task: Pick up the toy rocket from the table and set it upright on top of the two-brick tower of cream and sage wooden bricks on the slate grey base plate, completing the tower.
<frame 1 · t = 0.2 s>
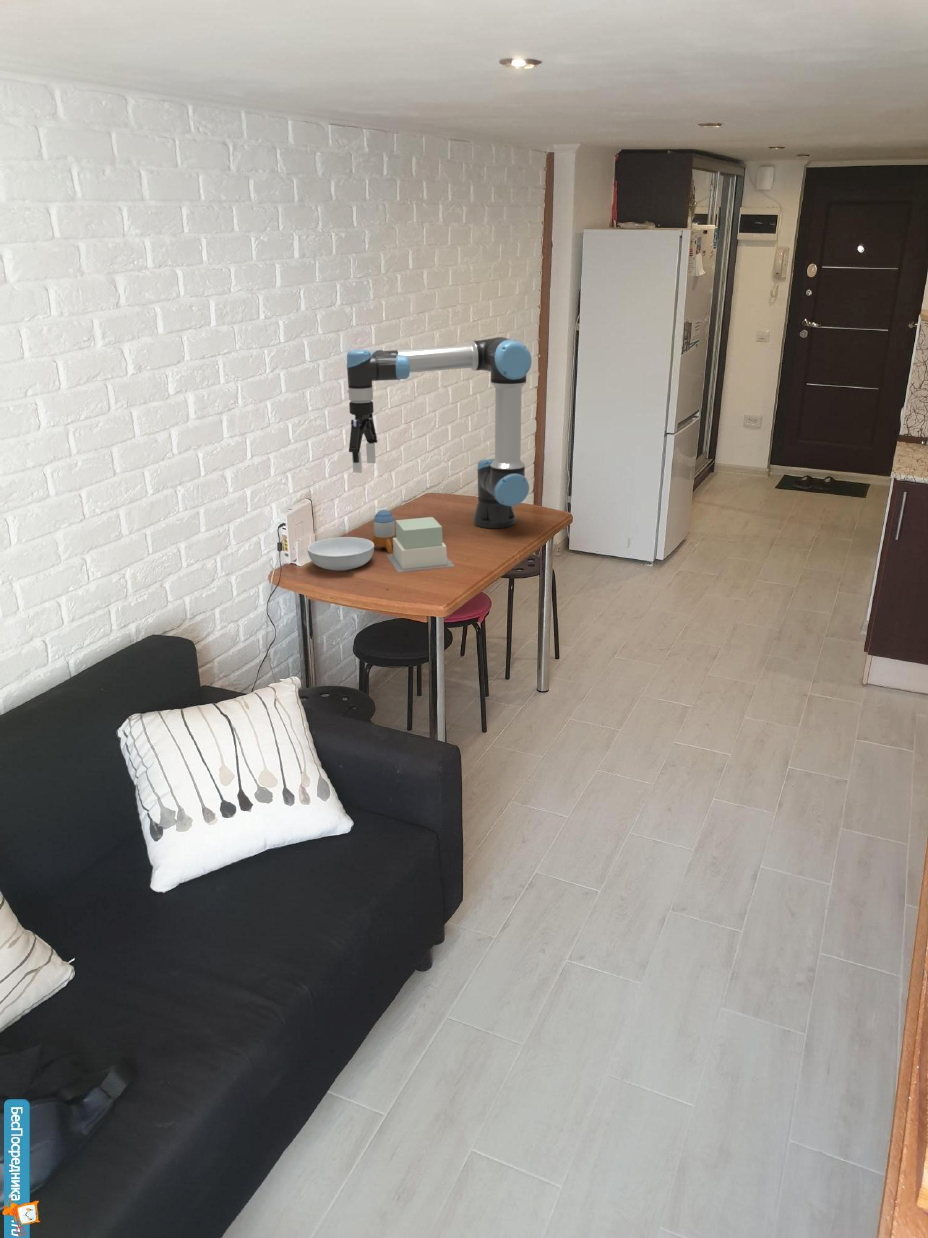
hand: (364, 467, 306), 27 cm above the table, tool pointing down, fingers open, 13 cm apart
serving bowl: (342, 567, 299), on the table
base plate: (420, 563, 300), on the table
toy rocket: (382, 552, 312), on the table
lower brick: (419, 560, 300), point 1 cm above the table, touching base plate, upper brick
upper brick: (419, 542, 298), point 7 cm above the table, touching lower brick
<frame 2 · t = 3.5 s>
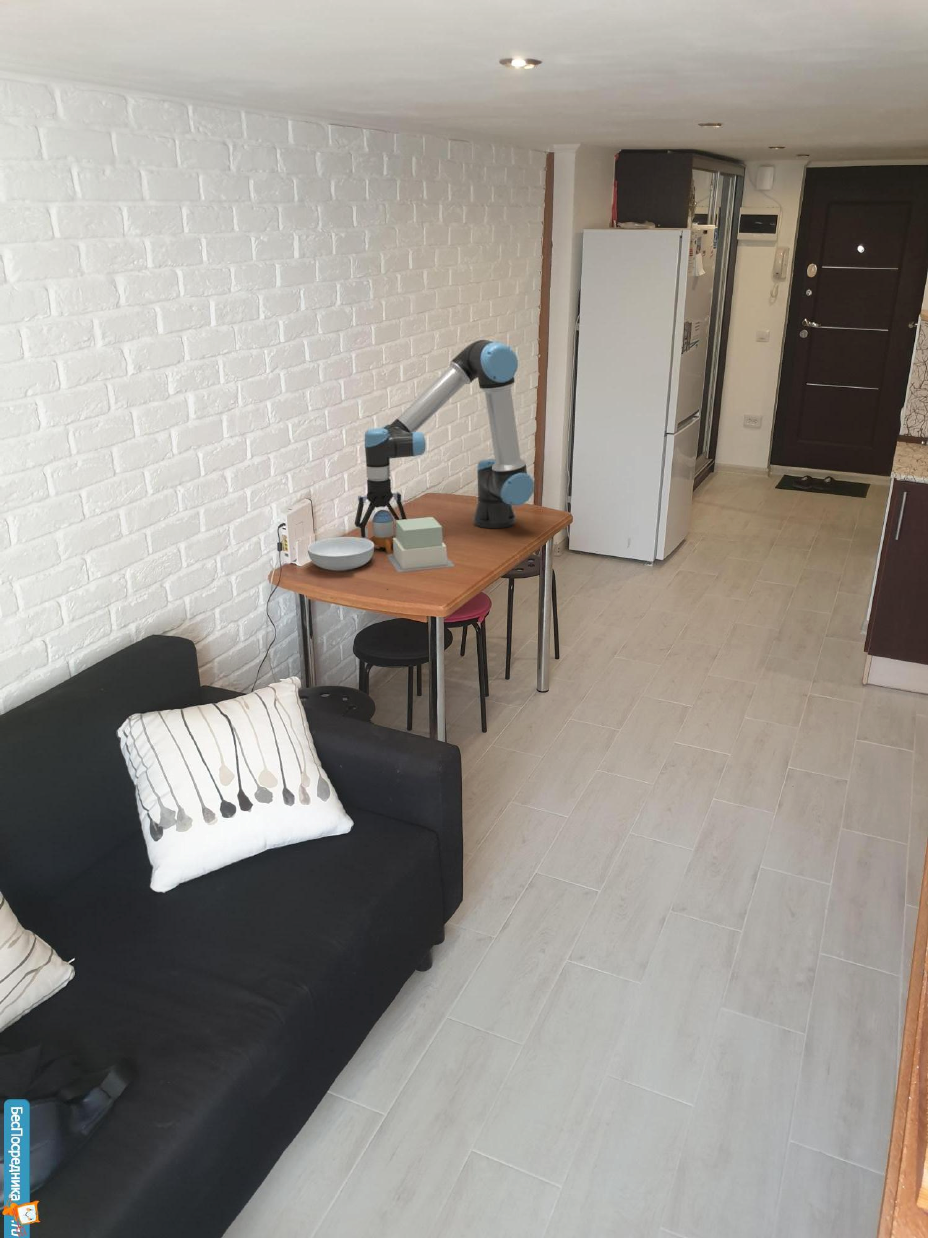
hand: (382, 545, 312), 2 cm above the table, tool pointing down, fingers closed on toy rocket, 10 cm apart
toy rocket: (381, 552, 312), on the table, touching gripper
everything else where it was.
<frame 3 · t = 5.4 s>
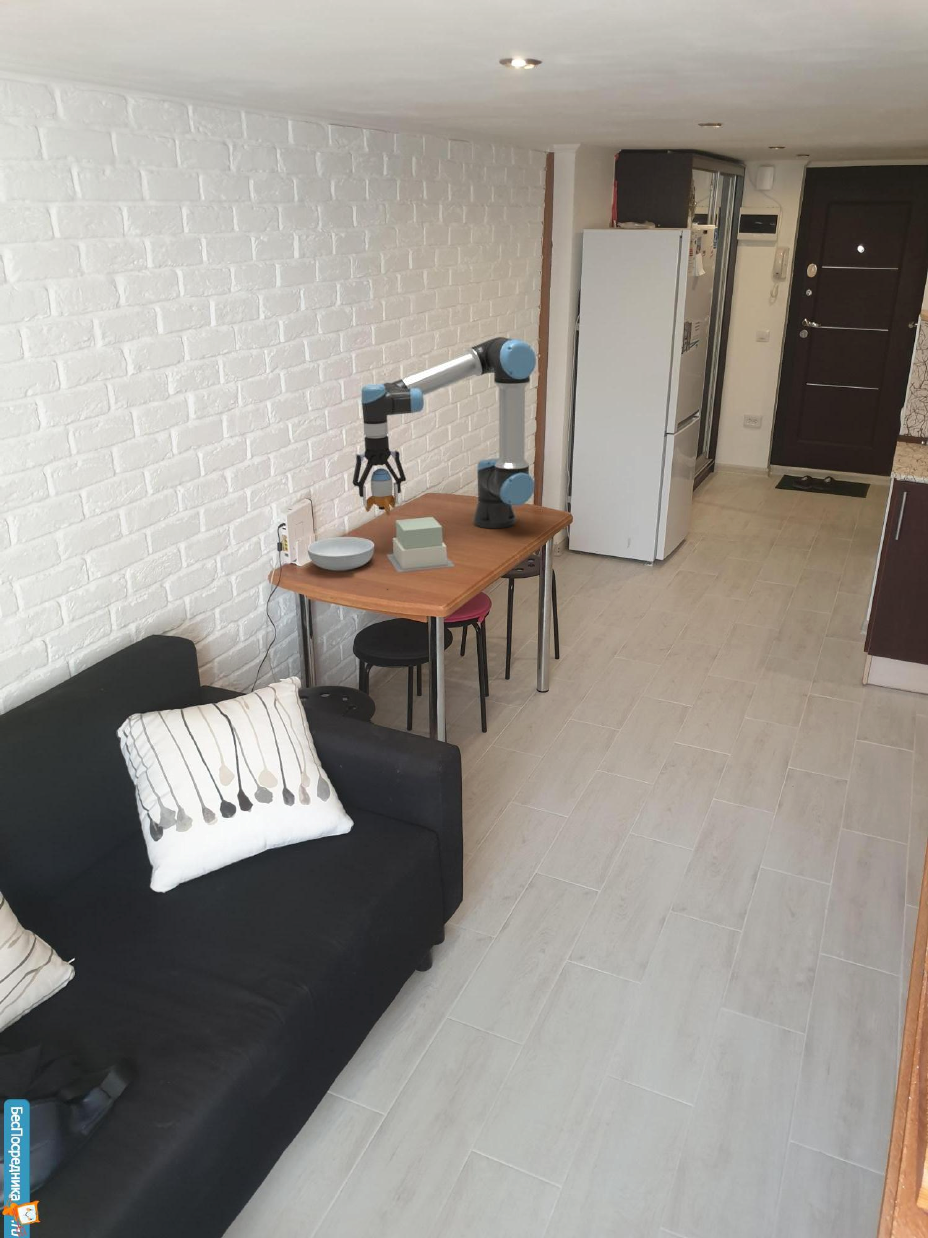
hand: (380, 504, 307), 16 cm above the table, tool pointing down, fingers closed on toy rocket, 10 cm apart
toy rocket: (379, 512, 307), point 13 cm above the table, touching gripper
everything else where it was.
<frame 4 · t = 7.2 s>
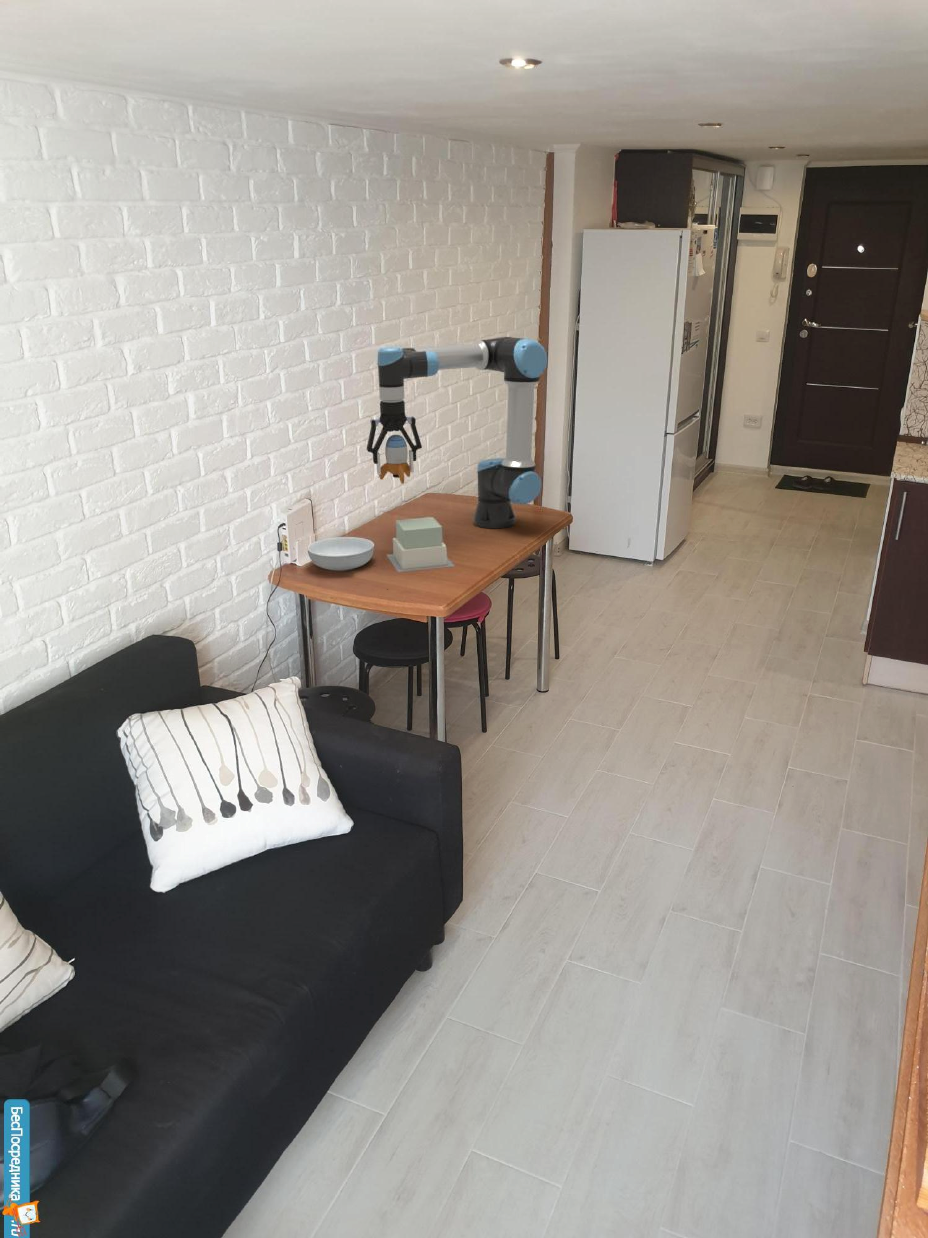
hand: (395, 472, 296), 28 cm above the table, tool pointing down, fingers closed on toy rocket, 10 cm apart
toy rocket: (394, 480, 297), point 25 cm above the table, touching gripper
everything else where it was.
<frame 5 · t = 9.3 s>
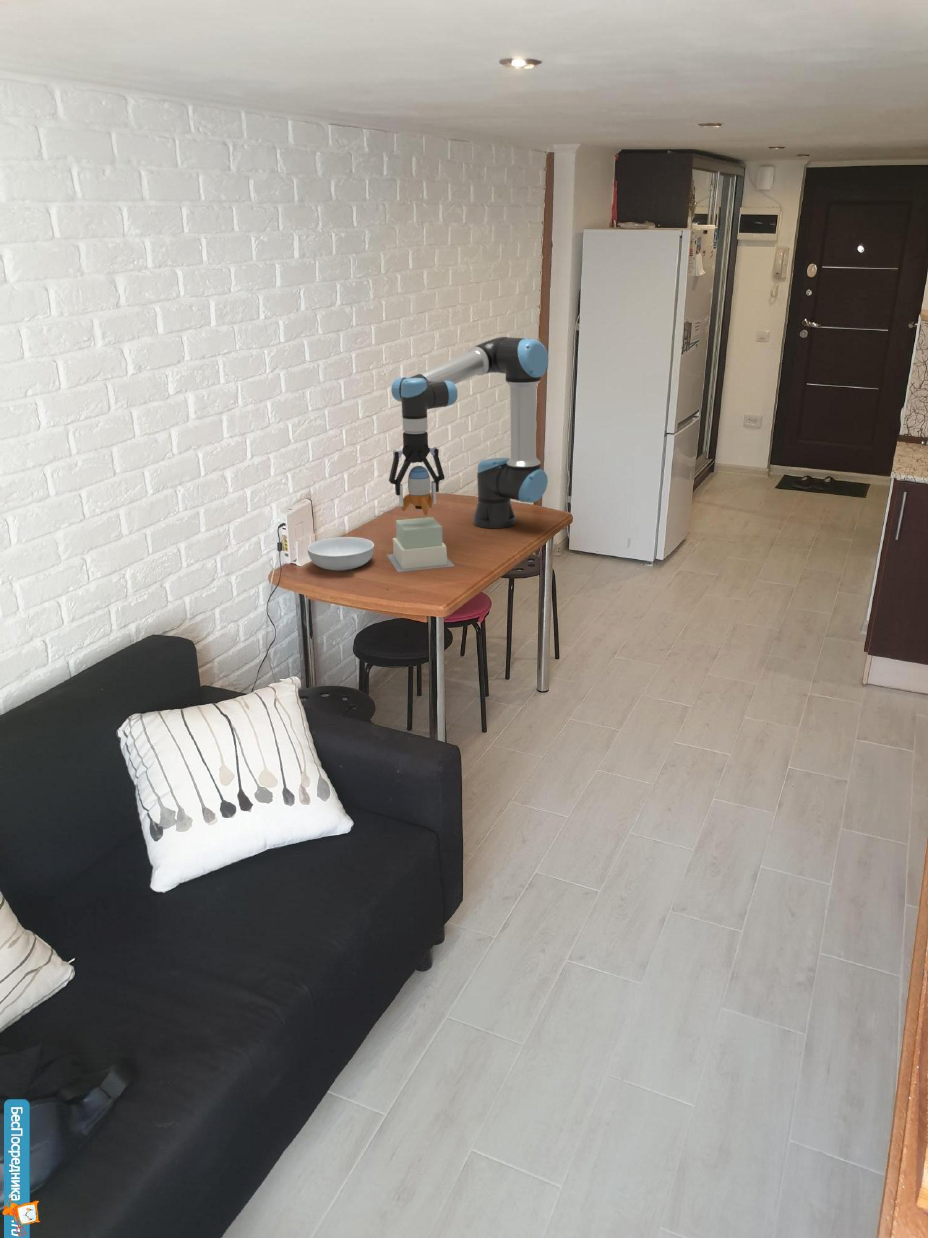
hand: (417, 503, 293), 19 cm above the table, tool pointing down, fingers closed on toy rocket, 10 cm apart
toy rocket: (416, 511, 294), point 17 cm above the table, touching gripper
everything else where it was.
when the fingers open (17 cm above the table, at t = 10.8 s): toy rocket drops 1 cm, resting on upper brick.
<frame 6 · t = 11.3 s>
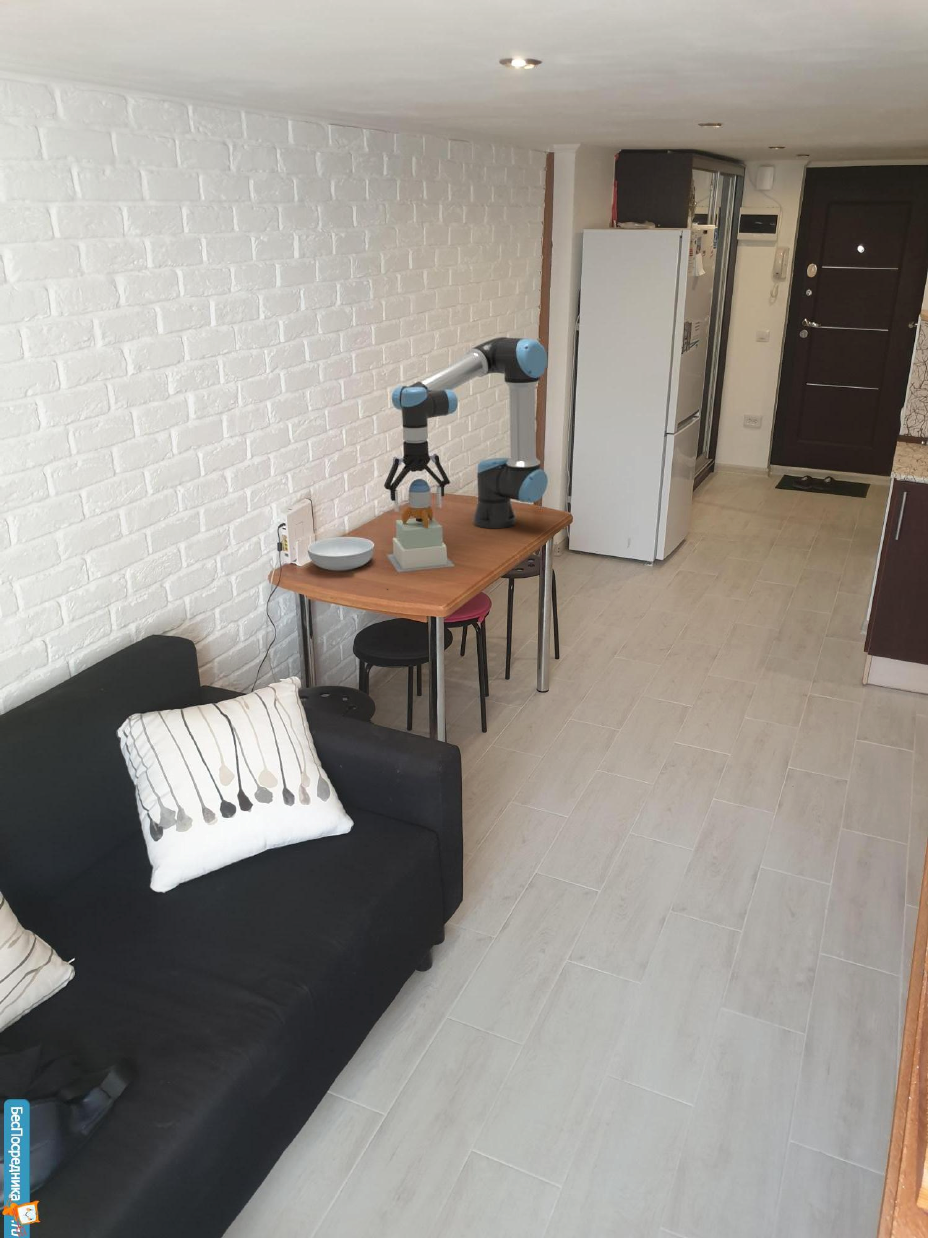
hand: (418, 508, 294), 18 cm above the table, tool pointing down, fingers open, 13 cm apart
toy rocket: (417, 524, 296), point 13 cm above the table, touching upper brick
upper brick: (419, 542, 298), point 7 cm above the table, touching lower brick, toy rocket
everything else where it was.
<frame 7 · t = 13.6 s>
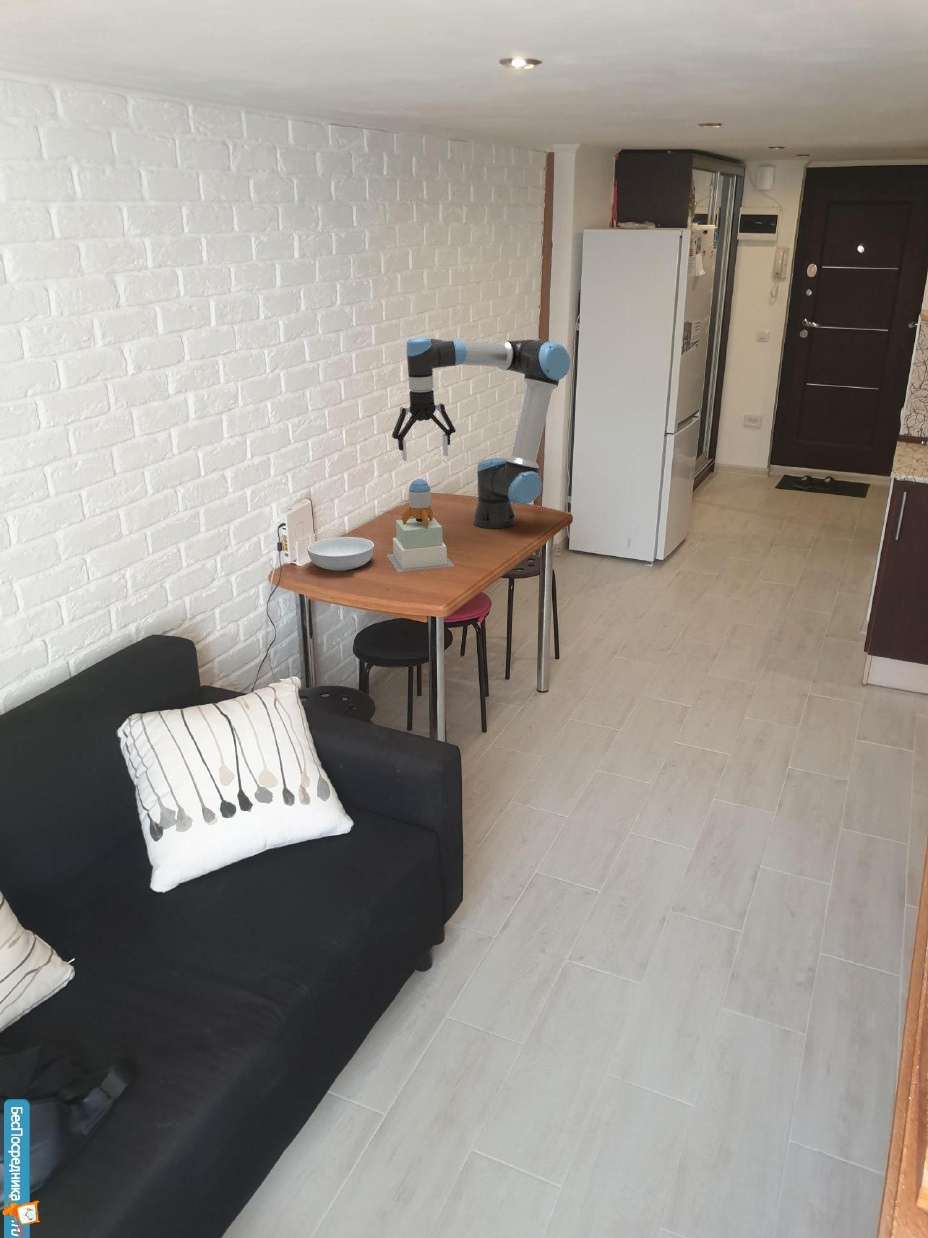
hand: (425, 457, 301), 31 cm above the table, tool pointing down, fingers open, 13 cm apart
nothing on the table moved.
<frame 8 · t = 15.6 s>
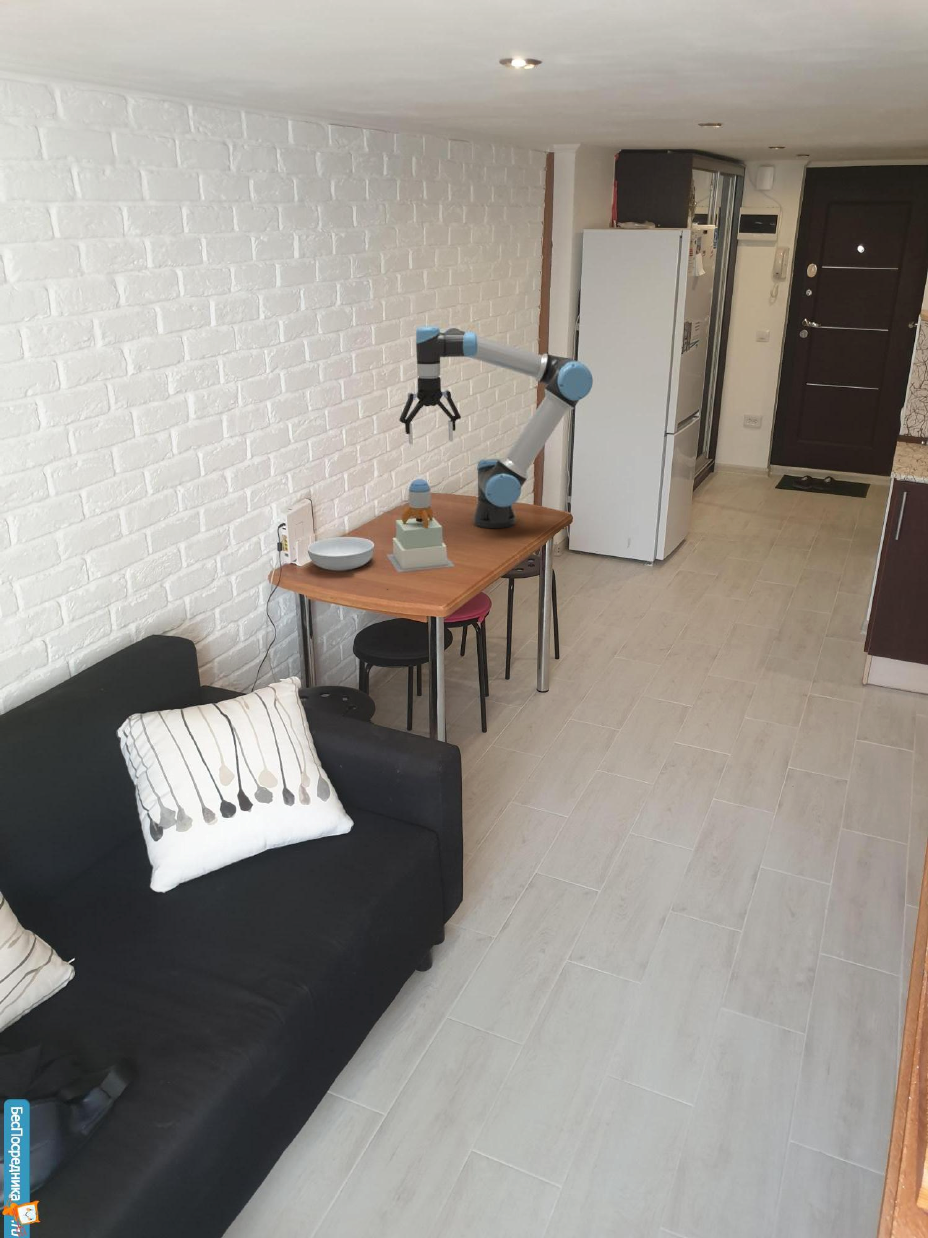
hand: (430, 442, 314), 33 cm above the table, tool pointing down, fingers open, 13 cm apart
nothing on the table moved.
at the end: toy rocket inside the target area on the upper brick (0.5 cm from its centre), point 5.8 cm above the upper brick's base; toy rocket tilted 0°; upper brick moved 0.1 cm from its start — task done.
